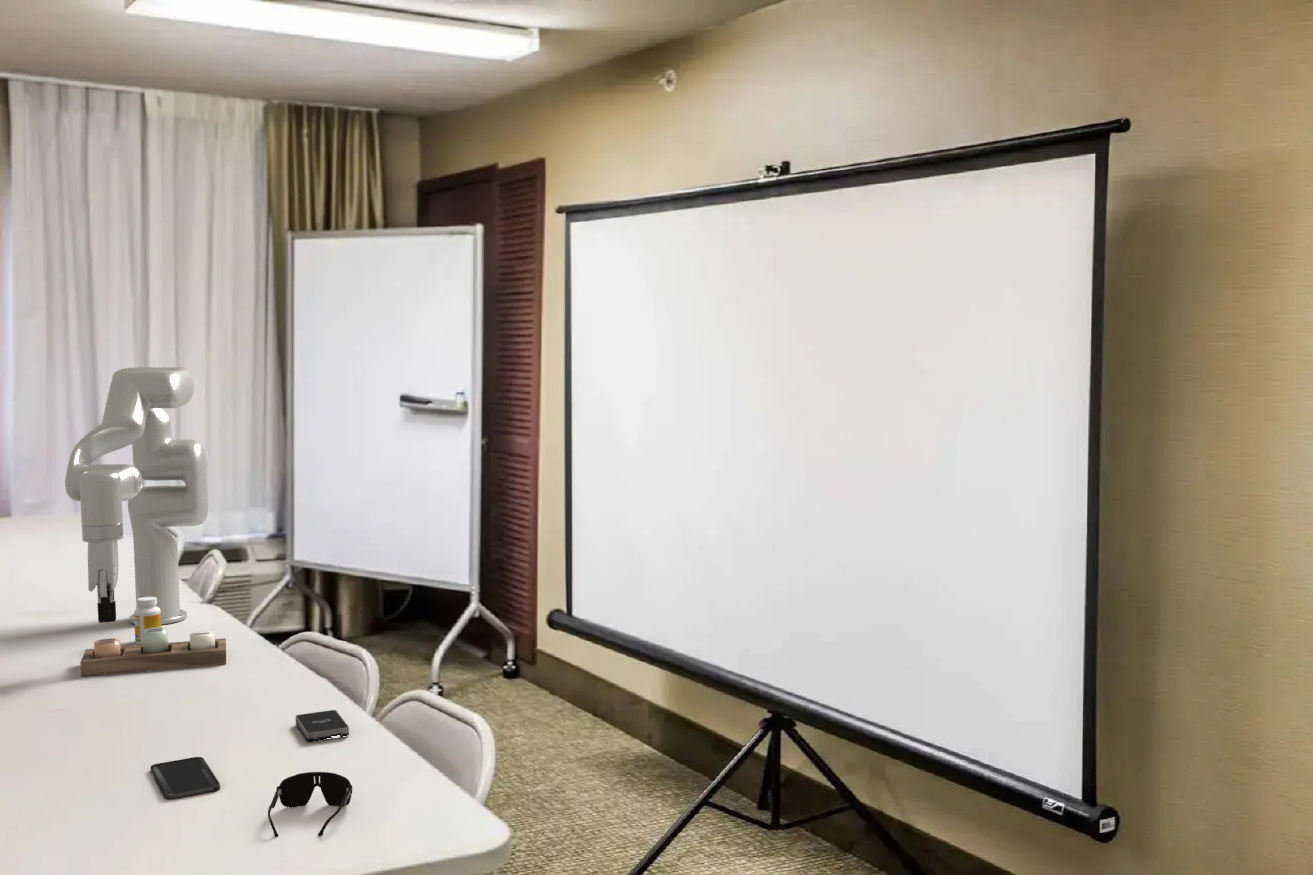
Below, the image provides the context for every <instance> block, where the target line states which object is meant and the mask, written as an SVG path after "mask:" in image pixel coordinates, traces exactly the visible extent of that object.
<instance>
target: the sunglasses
mask: <svg viewBox="0 0 1313 875" xmlns="http://www.w3.org/2000/svg"><path fill="white" fill-rule="evenodd" d="M316 787H319V788H320V791H321V793H322V794H321V795H322V796H323V798H324V800H325V803H326V804H327V806H330V807H338V806H339V807H338V808H337V809H336V811H335V812H334V813H333V814H332V815H330V817H328V818H327V820H326V821H325V822H324V824H323V825H322V827H321V829H320V830H319V831H318V833H317V837H321V836H323V835H324V832H325V830H326V827H327V826H328V825H329V823H330V822H331V821H332V820H333V819H334V818H335V816H337V815H338V814H339V813H340V811H341V810H342V808H344V807H347V806H348V805H349V804H350V802H351V800H352V794H353V784H351V781H350V780H349V779H348V778H347V777H345V776H344V775H340V774H338V773H336V772H329V771H309V772H301V773H297V774H294V775H292V776H291V775H290V776H289V777H286V778H284V779H283V780H281V782H280V784H279V785H277V786H276V790H275V793H274V794H273V798H272V800H271V802H270V804H269V807H268V809H267V818H268V821H269V824H270V826H271V829H272V831H273V835H274V837H275V838H278V837H279V834H278V831H277V830H276V828H275V824H274V822H273V820H272V817H271V812H272V809H275V807H276V804H277V802H278V799H279V801H280V803H281V805H282V806H283V807H285V808H288V807H289V809H292V807H293V808H298V807H297V806H301V807H305V806H307V804H308V803H309V802H310V800H311V798H312V795H313V793H314V790H315V788H316Z"/></svg>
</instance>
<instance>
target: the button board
mask: <svg viewBox="0 0 1313 875" xmlns="http://www.w3.org/2000/svg"><path fill="white" fill-rule="evenodd" d="M120 651H121V656H115V657H102V658H95V654H94V648H90V649H89V648H87V649H85V650H84V653H83V655H82V657H81V660H80V663H79V664H80V677H93V676H104V674H106V675H115V674H116V675H117V674H127V673H128V674H129V673H140V672H150V671H153V672H154V671H162V670H163V671H164V670H173V669H183V668H184V669H185V668H197V667H198V668H199V667H205V666H206V667H210V666H219V665H226V664H227V639H226V637H224V638H215V648H211V649H199V650H190V640H187V641H174V642H168V649H167V650H165V651H162V652H154V653H148V652H143V645H139V644H137V645H128V646H127V645H125V646H120Z"/></svg>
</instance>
